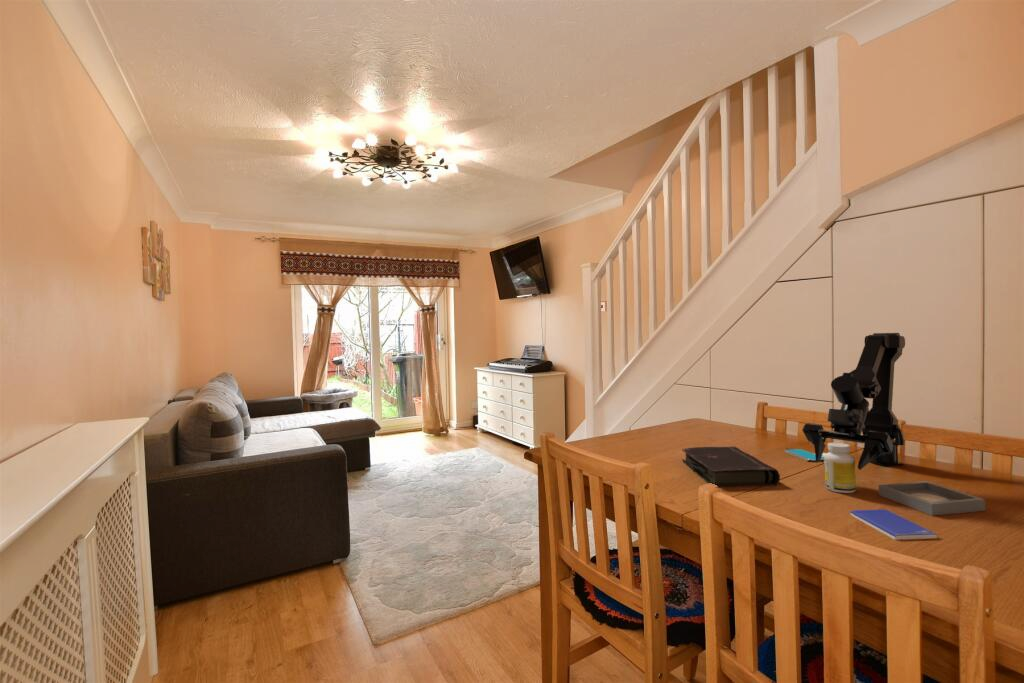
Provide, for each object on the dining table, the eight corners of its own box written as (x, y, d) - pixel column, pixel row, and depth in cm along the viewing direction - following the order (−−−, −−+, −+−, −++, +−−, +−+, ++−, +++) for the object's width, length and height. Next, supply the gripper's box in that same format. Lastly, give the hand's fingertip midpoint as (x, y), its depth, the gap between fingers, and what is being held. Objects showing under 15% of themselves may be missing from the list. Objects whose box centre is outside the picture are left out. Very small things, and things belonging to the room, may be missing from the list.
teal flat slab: (854, 465, 140) (854, 459, 140) (816, 468, 139) (816, 462, 139) (806, 449, 160) (806, 444, 160) (773, 451, 159) (773, 446, 159)
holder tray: (926, 490, 115) (926, 480, 115) (985, 510, 102) (984, 499, 102) (879, 495, 114) (878, 485, 114) (932, 515, 101) (931, 504, 101)
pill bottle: (862, 493, 116) (861, 447, 115) (836, 494, 116) (834, 448, 116) (844, 485, 122) (842, 441, 122) (819, 485, 122) (818, 442, 122)
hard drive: (937, 533, 91) (887, 508, 103) (894, 534, 91) (850, 510, 104) (937, 540, 91) (887, 516, 103) (895, 542, 91) (850, 517, 104)
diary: (738, 460, 149) (737, 445, 149) (780, 486, 124) (779, 468, 124) (679, 462, 150) (678, 447, 150) (709, 489, 125) (709, 470, 125)
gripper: (804, 394, 128) (787, 440, 122) (888, 400, 113) (873, 453, 107) (816, 418, 133) (801, 464, 127) (899, 427, 118) (886, 479, 112)
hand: (837, 464), depth 118 cm, fingers open, 9 cm apart
